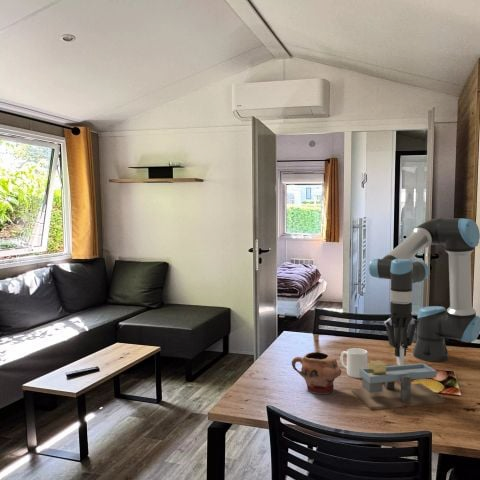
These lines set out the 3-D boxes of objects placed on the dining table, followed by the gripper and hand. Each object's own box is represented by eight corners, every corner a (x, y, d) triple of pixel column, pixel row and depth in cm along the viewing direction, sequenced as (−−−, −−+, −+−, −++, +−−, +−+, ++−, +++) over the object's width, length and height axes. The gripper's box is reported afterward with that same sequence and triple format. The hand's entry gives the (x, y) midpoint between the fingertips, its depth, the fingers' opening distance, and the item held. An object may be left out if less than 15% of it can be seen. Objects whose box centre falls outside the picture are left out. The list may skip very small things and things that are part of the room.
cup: (361, 379, 194) (361, 355, 193) (335, 373, 202) (335, 349, 202) (370, 374, 200) (371, 350, 200) (345, 367, 208) (345, 345, 208)
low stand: (421, 385, 187) (421, 360, 187) (445, 402, 172) (446, 375, 171) (351, 391, 182) (351, 366, 181) (370, 409, 167) (370, 381, 166)
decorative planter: (286, 391, 184) (285, 356, 182) (296, 380, 195) (295, 347, 193) (337, 400, 175) (337, 362, 174) (345, 388, 186) (345, 353, 185)
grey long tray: (422, 378, 184) (422, 362, 183) (436, 388, 174) (437, 371, 174) (359, 384, 179) (359, 368, 178) (370, 394, 170) (370, 377, 169)
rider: (380, 372, 177) (380, 360, 177) (386, 376, 173) (386, 364, 172) (368, 373, 176) (368, 361, 176) (374, 377, 172) (374, 365, 172)
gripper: (412, 298, 179) (411, 360, 181) (379, 300, 177) (379, 362, 179) (423, 302, 172) (422, 366, 174) (389, 304, 169) (388, 369, 171)
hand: (400, 364), depth 176 cm, fingers closed
